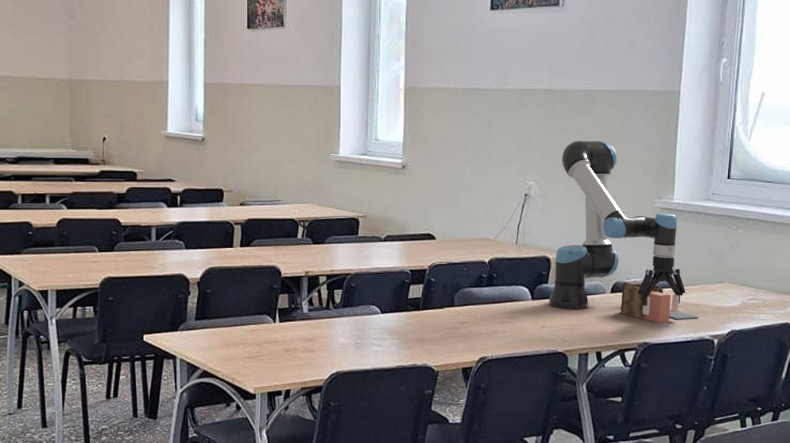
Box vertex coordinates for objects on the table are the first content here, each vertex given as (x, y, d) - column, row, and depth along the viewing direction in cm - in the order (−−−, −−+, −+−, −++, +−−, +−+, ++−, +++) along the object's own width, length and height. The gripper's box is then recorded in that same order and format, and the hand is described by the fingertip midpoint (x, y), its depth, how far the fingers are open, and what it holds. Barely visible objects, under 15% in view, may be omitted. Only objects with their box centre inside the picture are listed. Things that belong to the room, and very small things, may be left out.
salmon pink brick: (636, 315, 371) (638, 289, 370) (646, 315, 373) (647, 289, 372) (659, 322, 359) (660, 296, 358) (668, 322, 361) (670, 295, 360)
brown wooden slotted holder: (620, 312, 376) (622, 281, 375) (638, 311, 380) (640, 280, 379) (639, 317, 367) (641, 286, 365) (657, 316, 370) (659, 285, 369)
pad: (652, 312, 378) (652, 310, 378) (673, 311, 382) (673, 309, 382) (676, 319, 366) (676, 318, 366) (697, 318, 370) (697, 316, 370)
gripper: (643, 258, 351) (639, 317, 353) (697, 256, 361) (693, 313, 364) (629, 255, 358) (626, 313, 360) (683, 253, 368) (680, 309, 370)
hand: (660, 313), depth 362 cm, fingers open, 13 cm apart
